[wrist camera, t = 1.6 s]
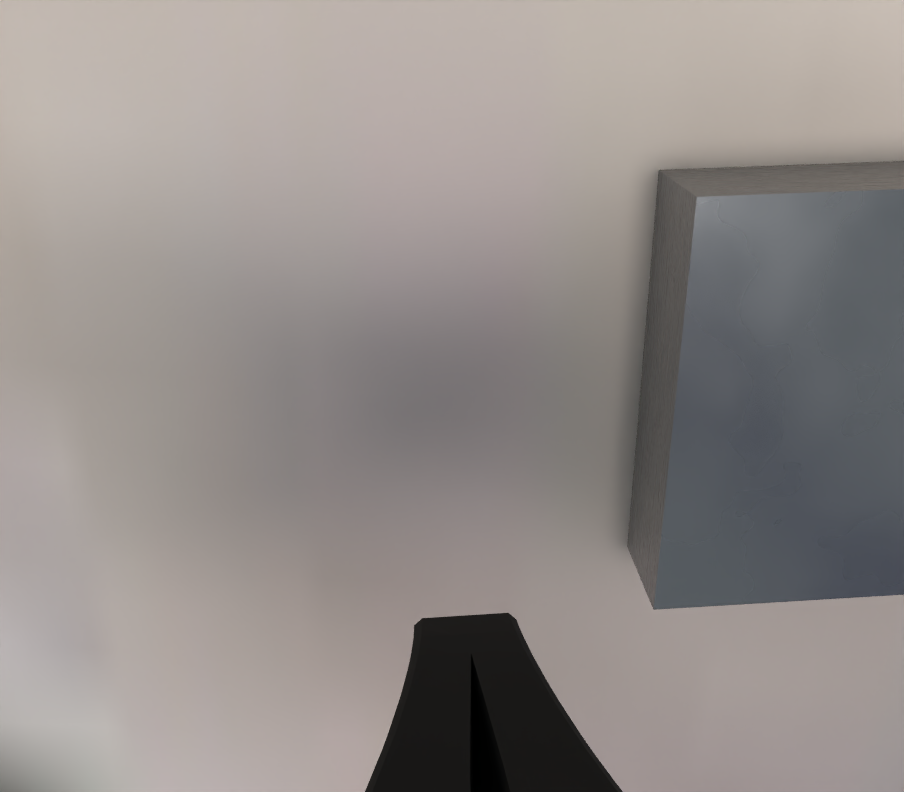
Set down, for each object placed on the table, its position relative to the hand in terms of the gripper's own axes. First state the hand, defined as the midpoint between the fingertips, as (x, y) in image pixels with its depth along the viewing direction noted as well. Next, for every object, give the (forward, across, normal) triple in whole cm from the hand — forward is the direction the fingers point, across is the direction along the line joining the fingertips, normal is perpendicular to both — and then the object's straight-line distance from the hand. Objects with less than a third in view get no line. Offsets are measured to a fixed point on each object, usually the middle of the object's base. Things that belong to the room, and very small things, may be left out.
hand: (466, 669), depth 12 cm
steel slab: (+10, -10, 0) cm, 14 cm away
